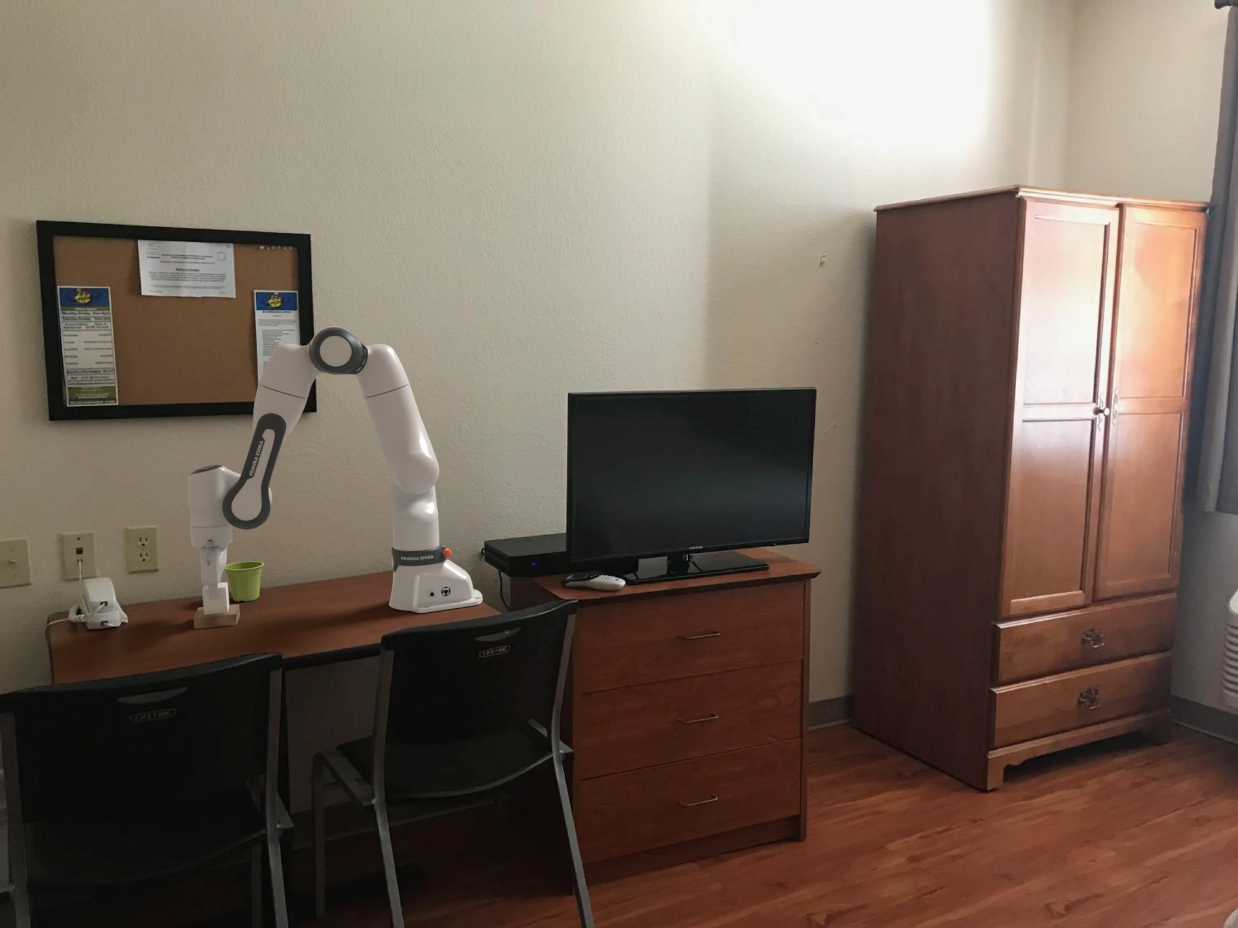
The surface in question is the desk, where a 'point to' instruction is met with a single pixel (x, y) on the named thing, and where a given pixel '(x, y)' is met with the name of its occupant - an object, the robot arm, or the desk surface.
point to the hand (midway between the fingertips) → (215, 594)
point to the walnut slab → (216, 618)
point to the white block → (216, 600)
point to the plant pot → (244, 579)
